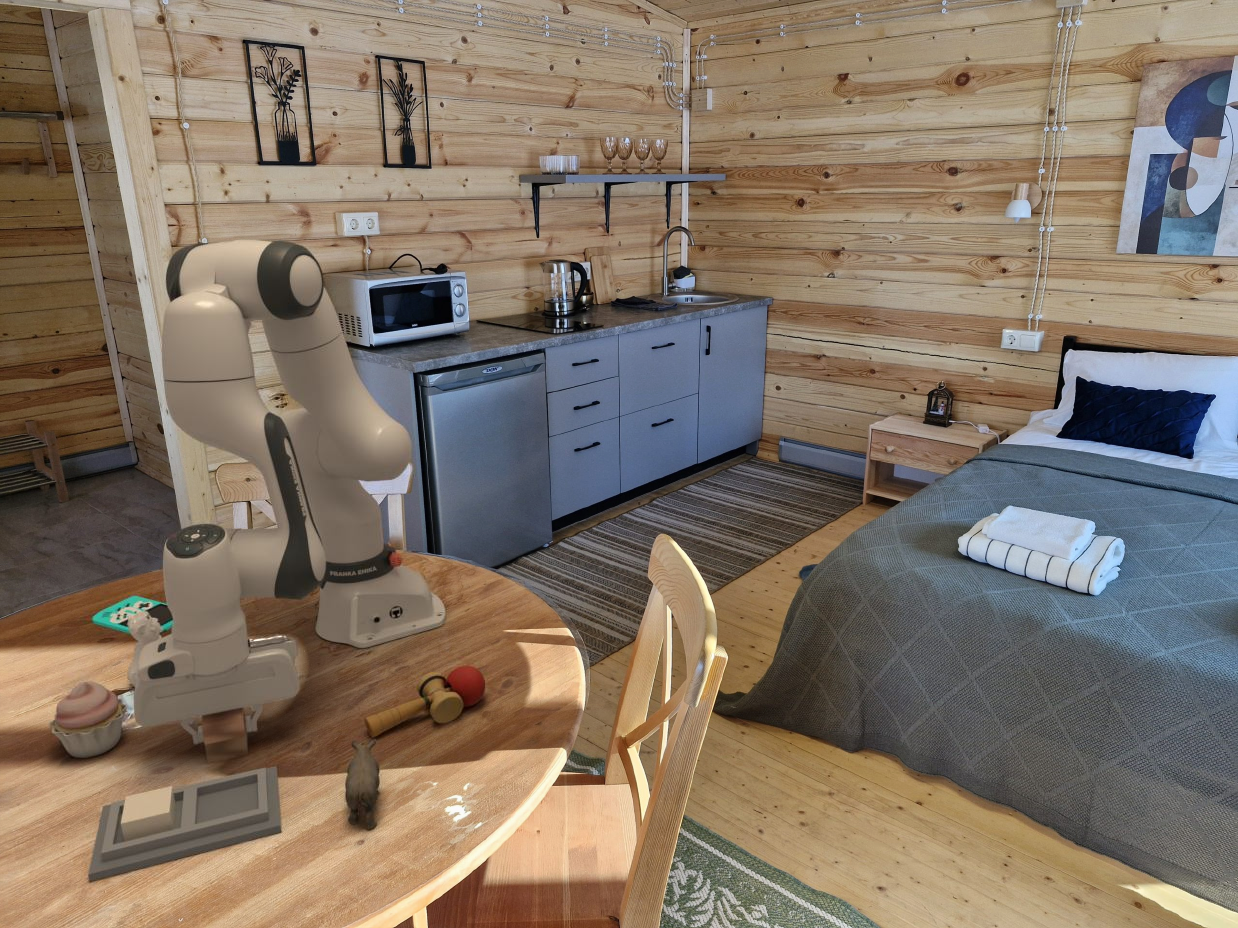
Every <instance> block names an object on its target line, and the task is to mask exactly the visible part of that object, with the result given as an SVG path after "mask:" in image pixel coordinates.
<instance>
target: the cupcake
mask: <svg viewBox="0 0 1238 928" xmlns="http://www.w3.org/2000/svg"><path fill="white" fill-rule="evenodd" d="M71 689H72V690H71V691H70V692H69V694H68V695H67V696H65V697H63V698H62V699H61V700H60V701H58V703H57V705H56V707H55V708H56V709H55V712H56V713H54V719H53V720H51V721H50V722H48V723H47V725H48V727H49V728H50V729H51V732H52V734H53V735H55V736H56V737H57V738H58V739H59V740H60V741H61V743H62V745H63V747H64V748H65V750H66V753H68V754H69V755H70V756H72V757H74V758H78V759H79V758H80V759H81V758H82V759H86V758H91V757H96V756H99V755H102V754H104V753H106V752H108V751H110V750H111V749H113V748H114V747H115V746H116V745H117V744H118V743H119V742H120V739H121V736H122V726H123V720H124V719H123V718H124V717H125V714H126V713H127V710H128V708H129V706H128V704H124V698H118V697H117V695H116V694H115V692H113V691H111V690H109V689H108V688H107V687H105V685H103V684H101V683H98V682H95V681H92V680H91V681H90V680H88V681H87V680H86V681H83V682H80V683H78V684H76V685H75V686H74V687H72V688H71Z"/></svg>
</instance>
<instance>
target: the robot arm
mask: <svg viewBox="0 0 1238 928" xmlns="http://www.w3.org/2000/svg"><path fill="white" fill-rule="evenodd" d="M323 273H324V272H323V270H322V267H321V265H320V263H319V261H318V260H317V258H316V257H315V256H314V255H313V253H312V252H311V251H310V250H309V249H308V248H307V247H305V246H304V245H301V244H298V243H295V242H292V241H291V242H290V241H286V240H274V241H270V240H262V239H261V240H258V239H235V240H233V241H232V240H230V241H229V240H228V241H220V242H211V243H206V242H200V243H199V242H198V243H194V244H191V245H190V244H189V245H187V246H184V247H182V248H180V249H178V250H177V251H175V252H174V253H173V255H172V256H171V258H170V259H169V262H168V265H167V268H166V272H165V287H166V288H165V289H166V292H167V296H168V298H169V302H170V303H169V304H168V305H167V306H166V309H165V310H164V315H163V324H162V333H161V364H162V377H163V387H164V388H163V389H164V395H165V401H166V406H167V410H168V413H169V415H170V418H171V421H173V423H174V424H175V425H176V426H177V427H178V428H179V429H180V430H181V431H183V432H184V433H185V434H186V435H187V436H189V437H191V439H194V440H195V441H197V442H200V443H202V444H203V445H206V446H209V447H212V448H216V449H218V450H222V451H224V452H227V453H230V454H233V455H235V456H238V457H239V458H242V459H243V460H246V461H247V462H248V463H250V464H252V465H253V466H254V467H255V468H256V469H257V470H258V471H259V473H261V475H262V477H263V479H264V483H265V486H266V490H267V493H268V497H269V500H270V504H271V508H272V512H273V515H274V519H275V521H276V525H277V526H276V528H224V527H223V526H220V525H217V524H215V523H214V524H212V523H199V524H193V525H189V526H187V527H184V528H181V529H179V530H177V531H176V532H174V533H173V534H171V535H170V536H169V537H168V538H167V539H166V541H165V543H164V546H163V554H162V555H163V556H162V557H163V558H162V575H163V588H164V595H165V599H166V600H165V601H166V604H167V606H168V608H169V610H170V611H171V613H172V616H173V624H172V628H171V633H169V634H168V635H166V636H164V637H162V638H161V639H159V640H156V641H154V642H152V643H149V644H147V645H146V646H144V647H143V649H142V651H141V653H140V655H139V659H138V663H137V672H138V677H137V681H136V685H135V687H134V693H133V714H134V715H133V716H134V721H135V723H136V724H137V725H139V726H141V727H142V728H149V727H155V726H158V725H163V724H168V723H169V724H170V723H173V722H179V721H180V726H181V727H182V728H183V729H184V730H185V731H187V732H188V733H189V734H190V735H191V736H192V741H193V745H198V744H202V743H204V738H203V731H202V725H198V724H197V723H196V722H195V721H194V718H197V717H202V716H204V715H209V714H214V713H218V712H223V711H228V710H233V709H238V708H243V707H244V708H247V707H250V708H251V713H250V715H245V717H244V725H245V732H246V733H247V734H248V733H249V734H250V733H253V732H258V725H257V724H258V723H257V721H258V719H259V718H260V715H261V713H262V711H263V707H264V706H263V704H267V703H272V702H277V701H281V700H287V699H291V698H294V697H296V695H297V694H298V693H299V691H300V687H301V686H300V681H299V675H298V670H297V665H296V662H295V661H296V660H297V658H298V655H299V649H298V643H297V641H296V639H295V638H293V637H292V636H289V635H288V636H287V635H285V634H283V633H277V634H274V635H272V636H264V637H263V636H262V637H255V638H249V636H248V629H247V621H246V616H245V613H244V611H243V609H242V607H241V599H244V598H245V599H248V598H250V599H251V598H275V599H283V600H284V599H285V600H286V599H287V600H302V599H304V598H305V597H307V596H309V595H310V594H311V593H313V591H315V590H316V589H317V588H318V587H319V600H318V601H319V605H318V614H317V619H316V623H315V632H316V634H317V635H318V636H319V637H320V638H322V639H324V640H327V641H329V642H333V643H334V642H335V643H340V644H341V643H342V644H347V645H350V646H353V647H355V648H358V649H367V648H369V647H374V646H376V645H380V644H383V643H387V642H390V641H393V640H397V639H401V638H405V637H408V636H412V635H414V634H415V635H416V634H419V633H422V632H425V631H429V630H432V629H436V628H440V627H441V626H443V624H444V623H445V622H446V618H447V613H446V612H447V611H446V607H445V605H444V603H443V601H442V599H441V598H440V597H439V596H437V595H436V593H433V592H431V590H430V586H429V585H428V583H427V581H426V580H425V579H424V577H423V576H422V575H421V574H420V573H419V572H417V571H415V570H413V569H411V568H409V567H407V566H404V565H403V558H402V556H401V554H400V553H398V552H397V550H396V548H395V547H393V545H392V544H391V543H390V542H387V544H386V543H384V534H383V533H384V532H383V521H382V510H381V506H380V505H379V503H378V500H376V499H375V497H374V496H372V495H371V494H370V493H369V492H368V490H366V489H365V487H364V485H362V484H361V482H360V481H362V482H384V481H392V480H393V481H394V480H396V479H397V478H399V477H400V476H401V475H402V474H403V473H404V472H405V470H406V469H407V468H408V465H409V464H410V462H411V459H412V454H413V453H412V451H413V444H412V440H411V439H412V438H411V437H410V434H409V432H408V430H407V429H406V428H405V426H403V424H401V423H400V422H397V421H396V420H395V419H394V418H392V417H391V416H390V415H389V414H388V413H386V411H384V409H383V408H382V407H381V406H380V405H379V404H378V402H377V401H376V399H374V398H373V396H372V395H371V393H370V392H369V390H368V389H367V387H366V386H365V385H364V383H363V382H362V380H361V378H360V376H359V374H358V373H357V370H356V368H355V365H354V363H353V359H352V357H351V353H350V350H349V347H348V344H347V342H346V341H347V340H346V339H345V336H344V331H343V328H342V326H341V323H340V319H339V316H338V314H337V312H336V308H335V306H334V305H333V302H332V300H331V297H330V295H329V294H328V291H327V290H326V288H325V280H324V274H323ZM253 321H261V323H262V328H263V331H264V335H265V338H266V341H267V344H268V346H269V350H270V353H271V356H272V359H273V360H274V361H273V362H274V364H275V366H276V370H277V372H278V375H279V377H280V381H281V383H282V386H283V388H284V389H283V390H285V392H286V394H287V395H288V396H289V397H290V399H293V401H294V402H296V403H297V404H299V405H300V406H302V407H300V408H295V409H294V408H293V409H288V410H286V411H283V412H282V414H280V415H277V414H274V413H272V411H270V410H269V409H268V407H267V406H266V404H265V402H264V400H263V399H262V396H261V395H260V392H259V389H258V386H257V382H256V381H257V380H256V376H255V366H254V357H253V352H252V347H251V342H250V338H249V333H250V329H251V326H252V323H253Z"/></svg>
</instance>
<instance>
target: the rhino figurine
mask: <svg viewBox="0 0 1238 928" xmlns="http://www.w3.org/2000/svg"><path fill="white" fill-rule="evenodd" d="M376 744H377V741H376V738H372V740H370V742H369V743H368V744H365V743H364V741H363V742H361V744H358V742H357V741H356V740H351V747H352V748H353V749H354V750H355V751H356V752H355V754H354V756H353V757H352V759H351V760H350V762H349V764H348V767H347V772H346V773H347V774H346V779H345V783H344V784H345V785H344V787H345V793H344V794H345V796H344V797H345V802H346V805H347V806H348V808H349V811H350V816H349V817H347V822H349V824H351V825H356V824H357V823H359V820H360V814H359V812H360V805H361V804H362V805H363V808H364V813H365V816H364V817H365V830H367V831H369V830H373V829H375V828H376V827H377V825H378V822H377V821H376V820H375V819H374V815H375V814H374V811H375V807H376V804H377V801H378V797H379V795H380V791H379V787H380V783H381V781H380V772H381V771H380V766H379V763H378V761H377V759H376V758H375V757H374V756H373V755H372V752H371V750H372V748H374V746H375V745H376Z"/></svg>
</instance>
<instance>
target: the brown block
mask: <svg viewBox="0 0 1238 928" xmlns="http://www.w3.org/2000/svg"><path fill="white" fill-rule="evenodd" d="M245 716H246V713H245V707H243V708H238V709H233V710H228V711H223V712H218V713H214V714H209V715H204V716H201V726H202V731H203V738H204V742H203V743H204V750H205V755H206V762H207V764H208V765H209V764H213V763H214V764H215V763H217V762H223V761H227V760H231V759H236V758H239V757H240V758H241V757H243V756H244V757H245V756H249V741H248V740H249V739H248V736H249V735H248V733H246V732H245V725H244V717H245Z"/></svg>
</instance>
